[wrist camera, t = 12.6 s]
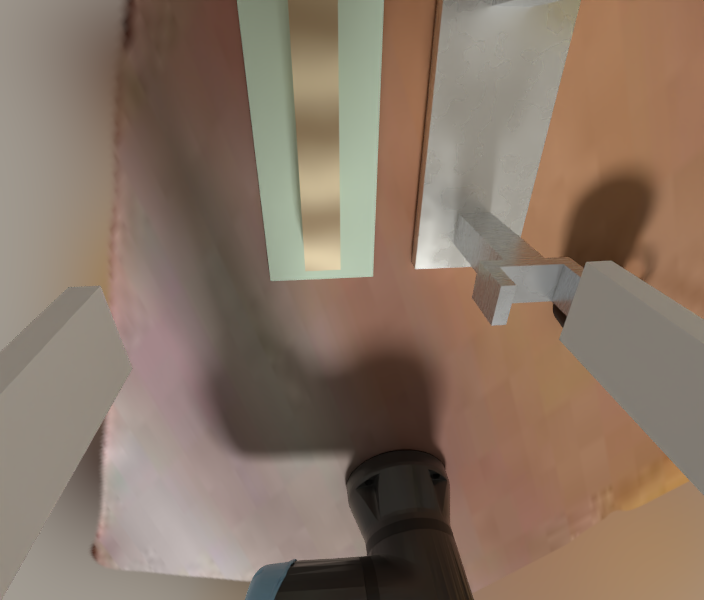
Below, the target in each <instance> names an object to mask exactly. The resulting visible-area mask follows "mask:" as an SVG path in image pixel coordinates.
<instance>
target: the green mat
mask: <svg viewBox="0 0 704 600" xmlns="http://www.w3.org/2000/svg"><path fill="white" fill-rule="evenodd" d="M237 6H238V14H239V23H240V31H241V39H242V48H243V56H244V64H245V72H246V81H247V89H248V97H249V106H250V114H251V122H252V131H253V139H254V147H255V155H256V164H257V172H258V180H259V189H260V197H261V205H262V214H263V222H264V230H265V238H266V247H267V255H268V263H269V272H270V280H271V281H284V280H306V279H329V278H351V277H373V261H374V236H375V211H376V187H377V162H378V137H379V112H380V87H381V62H382V37H383V12H384V0H338V64H339V162H340V259H341V270H323V271H305V259H304V243H303V228H302V213H301V197H300V182H299V166H298V151H297V136H296V120H295V105H294V89H293V74H292V59H291V43H290V28H289V13H288V0H237Z"/></svg>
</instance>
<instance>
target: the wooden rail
mask: <svg viewBox="0 0 704 600" xmlns="http://www.w3.org/2000/svg"><path fill="white" fill-rule="evenodd" d="M288 13H289V28H290V43H291V59H292V74H293V89H294V105H295V120H296V136H297V151H298V166H299V182H300V197H301V213H302V228H303V243H304V259H305V271H323V270H341V259H340V162H339V64H338V0H288Z"/></svg>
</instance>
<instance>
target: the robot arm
mask: <svg viewBox="0 0 704 600" xmlns="http://www.w3.org/2000/svg"><path fill="white" fill-rule="evenodd" d="M559 340H560V341H561V342H562V343H563V344H564V345H565V346H566V347H567V348H568V350H569V351H570V352H571V353H572V354H573V355H574V356H575V357H576V358H577V359H578V360H579V361H580V362H581V364H582V365H583V366H584V367H585V368H586V369H587V370H588V371H589V372H590V373H591V374H592V375H593V377H594V378H595V379H596V380H597V381H598V382H599V383H600V384H601V385H602V386H603V387H604V388H605V389H606V391H607V392H608V393H609V394H610V395H611V396H612V397H613V398H614V399H615V400H616V401H617V402H618V403H619V405H620V406H621V407H622V408H623V409H624V410H625V411H626V412H627V413H628V414H629V415H630V416H631V417H632V419H633V420H634V421H635V422H636V423H637V424H638V425H639V426H640V427H641V428H642V429H643V430H644V432H645V433H646V434H647V435H648V436H649V437H650V438H651V439H652V440H653V441H654V442H655V443H656V444H657V446H658V447H659V448H660V449H661V450H662V451H663V452H664V453H665V454H666V455H667V456H668V457H669V458H670V460H671V461H672V462H673V463H674V464H675V465H676V466H677V467H678V468H679V469H680V470H681V471H682V473H683V474H684V475H685V476H686V477H687V478H688V479H689V480H690V481H691V482H692V483H693V484H694V485H695V486H696V487H697V489H698V490H699V491H700V492H701V493H702V494H703V495H704V319H702V318H700V317H699V316H697V315H696V314H694V313H693V312H691V311H689V310H688V309H686V308H685V307H683V306H682V305H680V304H678V303H677V302H675V301H674V300H672V299H671V298H669V297H667V296H666V295H664V294H663V293H661V292H660V291H658V290H657V289H655V288H653V287H652V286H650V285H649V284H647V283H646V282H644V281H642V280H641V279H639V278H638V277H636V276H635V275H633V274H631V273H630V272H628V271H627V270H625V269H624V268H622V267H621V266H619V265H617V264H616V263H614V262H613V261H593V262H586V264H585V266H584V269H583V272H582V275H581V278H580V281H579V284H578V287H577V290H576V292H575V295H574V298H573V301H572V304H571V307H570V310H569V313H568V315H567V318H566V321H565V324H564V327H563V330H562V333H561V336H560V339H559ZM131 370H132V366H131V363H130V361H129V358H128V356H127V353H126V351H125V348H124V345H123V343H122V340H121V338H120V335H119V332H118V330H117V327H116V325H115V322H114V320H113V317H112V314H111V312H110V309H109V307H108V304H107V302H106V299H105V296H104V294H103V291H102V289H101V286H86V287H68V288H67V289H66V290H65V291H64V292H63V293H62V294H61V295H60V296H59V297H58V298H57V299H56V300H54V302H52V303H51V304H50V305H49V306H48V307H47V308H46V309H45V310H44V311H43V312H42V313H41V314H40V315H39V316H38V317H37V318H36V319H34V320H33V321H32V322H31V323H30V324H29V325H28V326H27V327H26V328H25V329H24V330H23V331H22V332H21V333H20V334H19V335H17V336H16V337H15V338H14V339H13V340H12V341H11V342H10V343H9V344H8V345H7V346H6V347H5V348H4V349H3V350H2V351H1V352H0V600H2V598H3V596H4V595H5V593H6V591H7V590H8V588H9V586H10V584H11V583H12V581H13V579H14V577H15V576H16V574H17V572H18V570H19V568H20V567H21V565H22V563H23V561H24V560H25V558H26V556H27V554H28V552H29V551H30V549H31V547H32V545H33V543H34V542H35V540H36V538H37V537H38V535H39V533H40V531H41V529H42V528H43V526H44V524H45V522H46V521H47V519H48V517H49V515H50V514H51V512H52V510H53V508H54V506H55V505H56V503H57V501H58V499H59V498H60V496H61V494H62V492H63V491H64V489H65V487H66V485H67V483H68V482H69V480H70V478H71V476H72V475H73V473H74V471H75V469H76V468H77V466H78V464H79V462H80V460H81V459H82V457H83V455H84V453H85V452H86V450H87V448H88V446H89V444H90V443H91V441H92V439H93V437H94V436H95V434H96V431H97V430H98V429H99V427H100V425H101V423H102V421H103V420H104V418H105V416H106V414H107V413H108V411H109V409H110V407H111V406H112V404H113V402H114V400H115V398H116V397H117V395H118V393H119V391H120V390H121V388H122V386H123V384H124V383H125V381H126V379H127V377H128V375H129V374H130V372H131ZM347 494H348V503H349V506H350V509H351V511H352V513H353V516H354V518H355V520H356V522H357V525H358V527H359V529H360V531H361V534H362V536H363V538H364V540H365V543H366V550H367V556H364V557H349V558H336V559H318V560H301V561H297V560H296V559H293V560H291V561H289V562H285V563H277V564H269V565H265V566H263V567H262V568H260V569H259V570H258V571H257V572H256V574H255V575H254V577H253V579H252V581H251V583H250V586H249V588H248V592H247V595H246V598H245V600H474V599H473V595H472V592H471V589H470V586H469V583H468V580H467V577H466V574H465V570H464V567H463V564H462V561H461V558H460V555H459V552H458V549H457V545H456V542H455V539H454V536H453V533H452V530H451V526H450V484H449V480H448V477H447V474H446V471H445V468H444V466H443V464H442V463H441V461H439V460H438V459H437V458H436V457H434V456H432V455H430V454H427V453H424V452H420V451H412V450H403V451H394V452H389V453H385V454H381V455H378V456H376V457H373V458H371V459H369V460H368V461H366V462H364V463H363V464H361V465H360V466H359V467H358V468H357V469H355V471H354V472H353V473H352V474H351V476H350V477H349V480H348V483H347Z"/></svg>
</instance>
